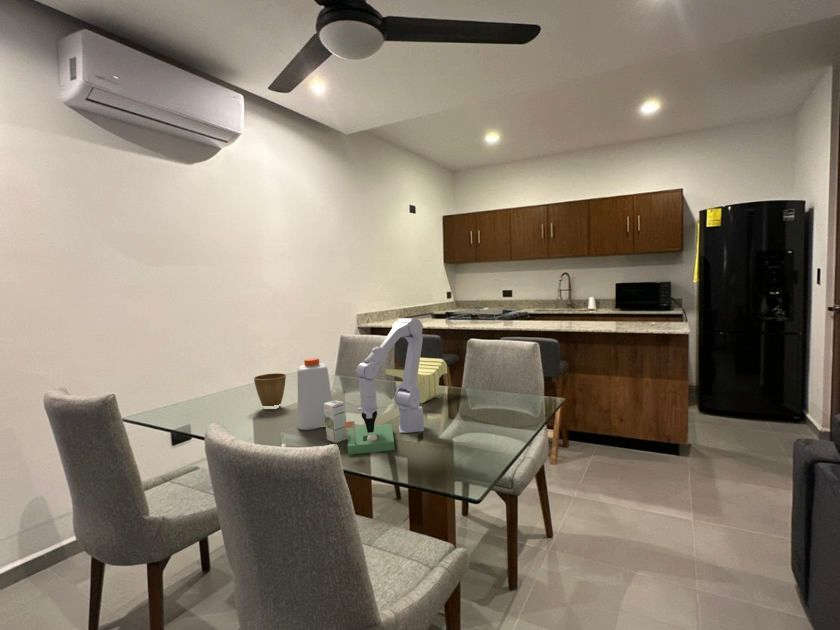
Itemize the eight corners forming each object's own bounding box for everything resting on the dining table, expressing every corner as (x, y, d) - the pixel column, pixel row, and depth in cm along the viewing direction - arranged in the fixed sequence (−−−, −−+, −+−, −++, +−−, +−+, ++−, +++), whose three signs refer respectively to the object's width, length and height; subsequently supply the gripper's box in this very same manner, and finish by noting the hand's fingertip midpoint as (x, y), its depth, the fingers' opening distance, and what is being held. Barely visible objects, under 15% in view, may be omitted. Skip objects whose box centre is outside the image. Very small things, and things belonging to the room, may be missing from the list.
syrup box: (347, 439, 169) (344, 401, 168) (334, 443, 164) (332, 405, 163) (338, 436, 173) (335, 399, 171) (325, 440, 168) (322, 403, 167)
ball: (377, 439, 157) (375, 448, 159) (379, 433, 161) (378, 442, 162) (366, 436, 158) (365, 446, 159) (369, 430, 161) (367, 440, 163)
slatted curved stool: (415, 409, 203) (413, 370, 202) (388, 405, 212) (385, 368, 210) (448, 393, 228) (446, 359, 227) (422, 390, 237) (420, 357, 235)
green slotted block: (391, 431, 175) (389, 403, 174) (394, 449, 155) (392, 419, 154) (348, 435, 173) (346, 407, 172) (346, 454, 153) (343, 423, 152)
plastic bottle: (298, 432, 180) (292, 363, 178) (298, 421, 194) (293, 358, 192) (336, 427, 184) (331, 360, 182) (333, 416, 198) (328, 354, 196)
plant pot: (268, 414, 209) (265, 380, 207) (250, 410, 218) (247, 377, 216) (294, 406, 220) (292, 374, 219) (276, 402, 229) (274, 371, 228)
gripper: (357, 391, 169) (360, 426, 170) (356, 401, 154) (359, 439, 156) (376, 390, 170) (378, 424, 171) (377, 399, 155) (379, 437, 156)
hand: (370, 431), depth 163 cm, fingers closed
